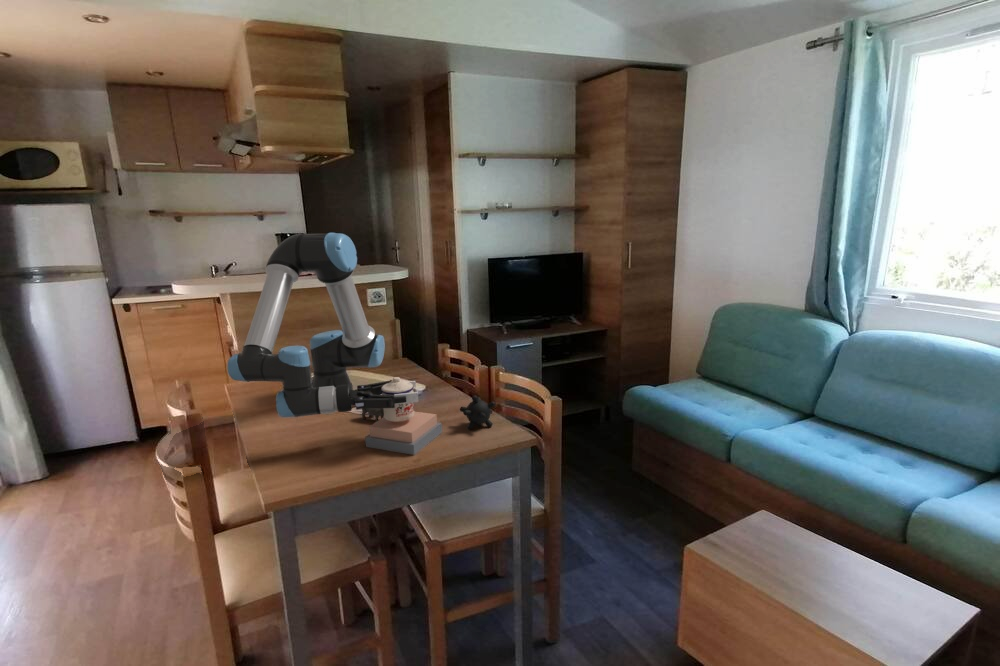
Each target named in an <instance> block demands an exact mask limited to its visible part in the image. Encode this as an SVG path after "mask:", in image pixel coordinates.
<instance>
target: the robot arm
mask: <svg viewBox="0 0 1000 666" xmlns="http://www.w3.org/2000/svg"><path fill="white" fill-rule="evenodd" d="M357 254H358V253H357V249H356V246H355V244H354V242H353V241H352V239H351V237H349V236H348V235H346V234H345V233H336V232H328V233H297V234H293V235H291V236H289V237H287V238H285V239H284V240H283V241H281V243H279V244H278V245H277V246H276V248H275V249H274V251H273V252H271V255H270V257H269V258H268V260H267V263H266V266H265V269H264V272H265V274H266V277H265V280H264V284H263V286H262V290H261V293H260V296H259V299H258V302H257V304H256V309H255V311H254V314H253V318H252V320H251V323H250V327H249V329H248V333H247V335H246V339H245V342H244V345H243V348H242V351H241V352H240V353H234V354H232V355H231V357H230V358H228V360H227V365H226V370H227V374H228V376H229V377H230V378H231V379H232V381H233V380H234V381H238V382H248V383H249V382H277V383H278V382H279V383H280V382H281V383H282V388H283V389H282V390H279V391H278V392H277V393H276V397H275V404H276V406H275V407H276V412H277V414H278V416H279V417H281V418H299V417H305V416H307V417H308V416H314V415H315V416H316V415H324V414H325V415H327V416H328V415H329V414H333V413H336V412H337V411H338V412H339V413H345V412H346V413H347V412H351V411H352V410H353V406H355V410H362V409H364V408H395V404H404V403H413V402H414V403H419V402H420V401H419V392H418V391H417V392H414V391H413V392H412V393H402V394H394V396H388V395H382V392H381V388H382V386H383V385H385V384H387V383H389V382H391V381H393V379H389V380H387V381H380V382H375V383H369V384H359V385H357V386H356V389H354V385H353V383H352V382H351V380H350V377H349V374H348V371H347V368H368V369H370V368H377V367H379V366H380V365H381V364H382V362H383V360H384V355H385V350H386V349H385V348H386V347H385V346H386V345H385V344H386V343H385V337H384V335H381V334H377V333H376V331H375V328H373V326H370V325H369V324H368V321H367V317H366V315H365V311H364V309H363V306H362V304H361V300H360V297H359V294H358V291H357V288H356V285H355V283H354V279H353V276H352V275H353V274H354V271H355V268H357V264H358V256H357ZM308 272H309V273H312V272H313V273H315V275H316V277H317V280H318V282H321V283H323V284H325V288H326V290H327V292H328V296H329V297H330V300H331V303H332V305H333V308H334V311H335V313H336V316H337V319H338V321H339V324H340V326H341V329H342V330H340V329H334V330H329V331H323V332H320V333H316V334H314V335H313V336H311V338H310V340H309V350H308V348H307V347H306V346H304V345H289V346H284V347H282V348H280V349H279V350H278V353H273V350H274V349H275V347H274V346H275V345H276V341H277V338H278V335H279V331H280V328H281V325H282V321H283V318H284V314H285V312H286V307H287V303H288V301H289V299H290V298H289V297H290V294H291V292H292V288H293V286H294V285H293V284H294V283H296V282H297V281H299V277H300V274H302V273H308ZM309 351H310V355H309ZM310 356H311V360H310ZM311 364H312V366H311ZM311 367H312V368H311ZM311 369H312V371H313V377H312V371H311ZM407 382H409V383H411V384H412V385H413V387H415V388H416V389H417V384H416V380H411V381H410V380H407Z"/></svg>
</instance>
